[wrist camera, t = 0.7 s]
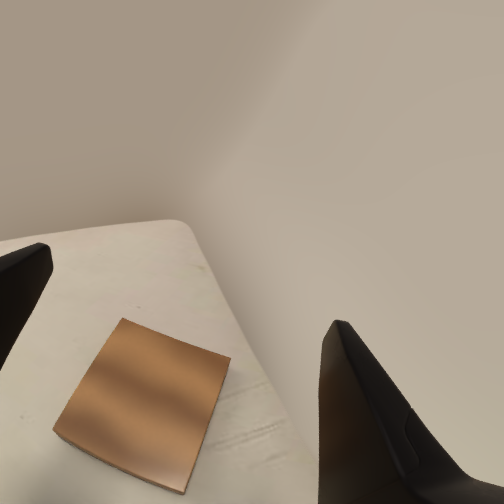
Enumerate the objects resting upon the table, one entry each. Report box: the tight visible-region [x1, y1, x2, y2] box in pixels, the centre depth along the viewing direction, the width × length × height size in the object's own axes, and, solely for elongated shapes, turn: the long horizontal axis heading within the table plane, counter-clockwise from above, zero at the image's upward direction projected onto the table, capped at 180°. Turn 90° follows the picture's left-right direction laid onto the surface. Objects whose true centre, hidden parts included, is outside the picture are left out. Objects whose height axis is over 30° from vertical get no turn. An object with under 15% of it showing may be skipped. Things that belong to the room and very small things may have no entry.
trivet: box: [52, 318, 231, 495], centre depth 20 cm, size 12×10×2 cm
